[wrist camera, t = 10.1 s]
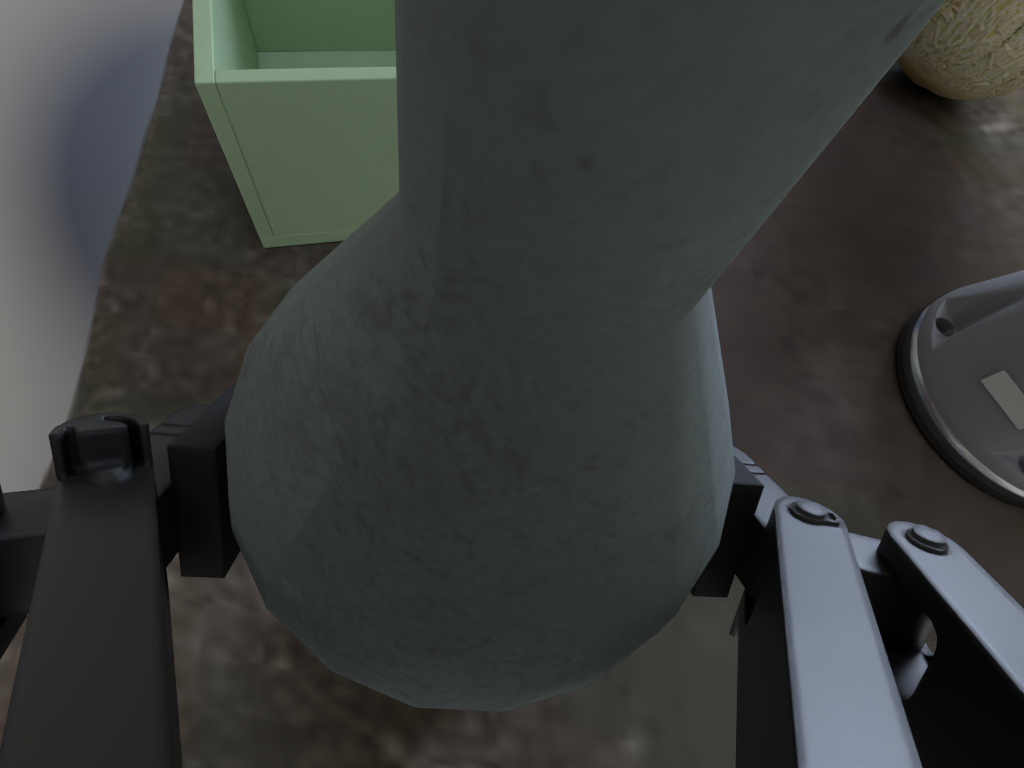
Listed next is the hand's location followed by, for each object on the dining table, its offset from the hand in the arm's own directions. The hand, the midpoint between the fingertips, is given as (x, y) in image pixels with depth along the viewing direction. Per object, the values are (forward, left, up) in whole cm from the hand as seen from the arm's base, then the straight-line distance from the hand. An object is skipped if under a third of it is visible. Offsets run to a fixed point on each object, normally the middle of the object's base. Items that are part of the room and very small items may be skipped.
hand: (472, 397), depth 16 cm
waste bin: (0, -25, -13) cm, 28 cm away
